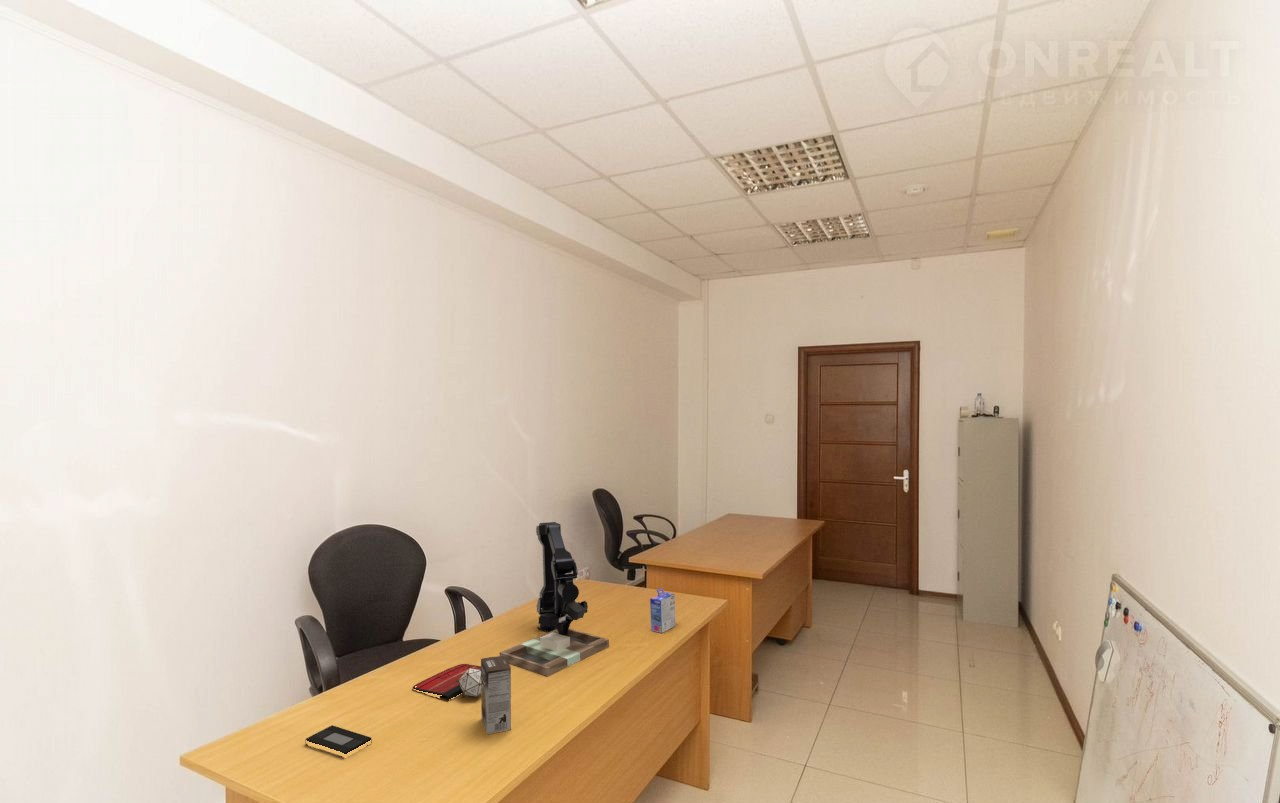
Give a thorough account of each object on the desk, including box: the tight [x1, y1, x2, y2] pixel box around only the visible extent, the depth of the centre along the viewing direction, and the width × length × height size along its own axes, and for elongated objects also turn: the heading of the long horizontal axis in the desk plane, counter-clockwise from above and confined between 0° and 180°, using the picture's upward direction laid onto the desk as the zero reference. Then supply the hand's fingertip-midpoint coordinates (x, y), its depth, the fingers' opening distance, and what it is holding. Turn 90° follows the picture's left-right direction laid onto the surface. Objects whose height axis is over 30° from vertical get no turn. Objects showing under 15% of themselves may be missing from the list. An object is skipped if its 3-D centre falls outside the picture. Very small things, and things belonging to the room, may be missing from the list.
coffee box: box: [480, 655, 512, 735], centre depth 163 cm, size 9×6×16 cm
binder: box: [412, 663, 481, 701], centre depth 189 cm, size 16×2×21 cm
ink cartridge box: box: [649, 587, 677, 634], centre depth 235 cm, size 10×6×14 cm, turn 145°
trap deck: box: [499, 628, 610, 677], centre depth 211 cm, size 22×30×2 cm
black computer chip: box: [305, 725, 372, 754], centre depth 154 cm, size 8×14×2 cm, turn 64°
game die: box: [455, 664, 481, 700], centre depth 180 cm, size 9×8×10 cm
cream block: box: [540, 632, 570, 652], centre depth 211 cm, size 8×6×3 cm
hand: (563, 639), depth 214 cm, fingers closed
